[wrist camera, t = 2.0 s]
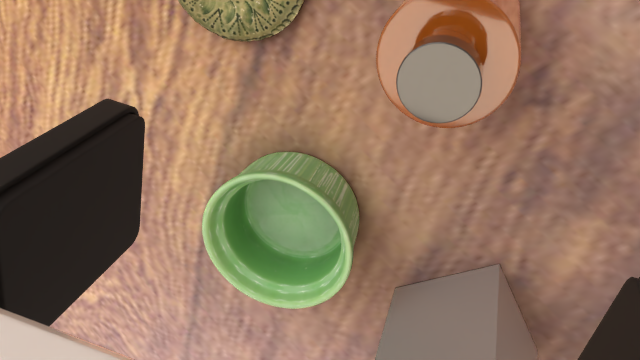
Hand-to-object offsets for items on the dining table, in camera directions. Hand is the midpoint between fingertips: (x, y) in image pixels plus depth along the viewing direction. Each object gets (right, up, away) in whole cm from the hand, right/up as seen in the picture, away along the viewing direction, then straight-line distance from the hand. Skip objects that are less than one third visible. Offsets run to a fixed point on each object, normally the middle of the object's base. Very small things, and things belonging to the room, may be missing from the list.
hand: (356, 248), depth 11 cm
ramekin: (-2, 0, +26) cm, 26 cm away
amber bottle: (+6, +9, +17) cm, 21 cm away
